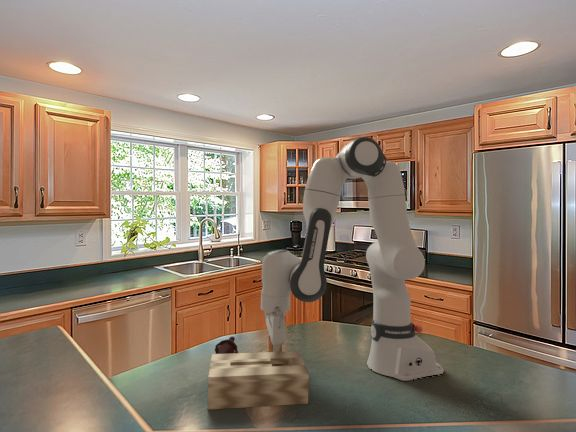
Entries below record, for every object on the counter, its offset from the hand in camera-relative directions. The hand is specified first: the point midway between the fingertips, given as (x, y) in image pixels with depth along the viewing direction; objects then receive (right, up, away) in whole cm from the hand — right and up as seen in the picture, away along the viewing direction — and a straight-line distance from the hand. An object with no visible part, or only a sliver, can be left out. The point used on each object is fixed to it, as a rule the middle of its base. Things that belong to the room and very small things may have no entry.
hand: (274, 349), depth 104 cm
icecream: (-15, -6, +4) cm, 17 cm away
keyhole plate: (-4, -5, -15) cm, 16 cm away
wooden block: (0, -6, 0) cm, 6 cm away
